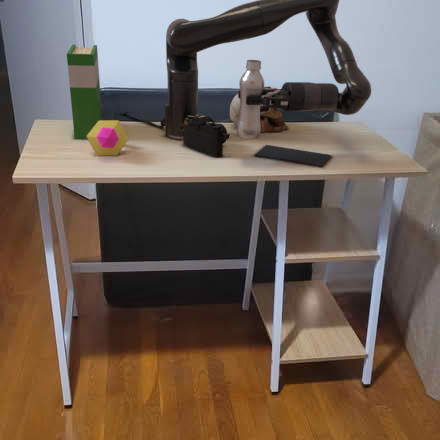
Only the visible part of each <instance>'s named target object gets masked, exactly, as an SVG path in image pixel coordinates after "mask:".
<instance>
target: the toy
mask: <svg viewBox="0 0 440 440" xmlns="http://www.w3.org/2000/svg"><path fill="white" fill-rule="evenodd" d="M87 138H88V139H87V140H88V142H89V144H90V147H91V148H92V150H93V152H94V153H95V156H96V157H97V156H98V157H99V156H100V157H101V156H103V157H104V156H118V154H119V153H120V152H121V150H122V149H123V148H124V147H125V146H126V145H127V143H128V141H129V140H130V139H129V138H128V136H127V134H126V132H125V129H124V128H123V125H122V123H121V122H120V120H119V119H115V120H114V119H110V120H103V119H102V120H99V121H98V122H97V123H96V125H95V126H94V127H93V128H92V130H91V131H90V132H89V133H88V135H87Z"/></svg>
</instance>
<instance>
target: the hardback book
mask: <svg viewBox="0 0 440 440" xmlns="http://www.w3.org/2000/svg"><path fill="white" fill-rule="evenodd" d="M98 52H99V51H98V45H97V44H93V46H92V47H84V46H83V47H82V46H81V47H78V46H76V44H71V46H70V47H69V49H68V51H67V52H66V64H67V73H68V82H69V93H70V105H71V113H72V124H73V135H74V140H88V138H87V135H88V133H89V132H90V131H91V130H92V128H93V127H94V126H95V125H96V123H97V122H98V121H99V120H103V113H102V99H101V98H102V97H101V81H100V69H99V68H100V67H99V54H98Z"/></svg>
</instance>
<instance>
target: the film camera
mask: <svg viewBox="0 0 440 440" xmlns="http://www.w3.org/2000/svg"><path fill="white" fill-rule="evenodd" d="M180 129H181V130H182V131H184V136H183V140H182V144H183V145H184V146H186V147H187V148H189V149H193V150H195V151H197V152H200V153H202V154H205V155H208V156H211V157H213V158H220V157H222V156H223V148H224V147H223V146H224V144H225V143H226V142H227V141H228V139H230V137H231V133H228V130H227V128H226V127H225V125H224V124H222V123H217V122H215V120H214V119H212V117H211V116H210V115H208V114H205V113H203V114H197V115H196V116H195V118H194V116H187V118H185V120H184V124H182V125H181V126H180Z"/></svg>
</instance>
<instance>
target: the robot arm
mask: <svg viewBox="0 0 440 440" xmlns="http://www.w3.org/2000/svg"><path fill="white" fill-rule="evenodd" d="M339 3H340V0H255V1H251V2H250V1H249V2H246V3H243V4H239V5H237V6H234V7H232V8H230V9H228V10H226V11H224V12H222V13H220V14H218V15H216V16H213V17H209V18H202V19H198V20H189V19H186V18H176V19H174V20H173V21H171V22H170V24H169V25H168V27H167V28H166V32H165V53H166V54H165V56H166V59H165V60H166V73H167V76H166V77H167V103H166V104H165V105H164V117H163V119H162V120H160V125H158V124H156V123H154V122H152V121H151V120H148V119H145V118H142V117H139V116H137V115H133V114H132V113H131V112H129V113H127V114H126V113H123V112H122V114H121V116H126V115H127V116H128V117H130V118H132V119H134V120H136V121H139V122H142V123H145V124H148V125H150V126H152V127H155V128H157V129H161V130H162V129H165V130H164V134H165V137H169V138H171V139H174V140H175V139H176V140H181V141H183V136H184V131H182V130H181V129H180V126H181V125H182V124H184V120H185V118H187V116H194V118H195V116H196V115H198V113H199V112H198V110H199V108H198V104H199V66H198V53H199V52H202V51H204V50H207V49H210V48H212V47H215V46H219V45H222V44H229V43H235V42H239V41H240V42H241V41H244V40H249V39H253V38H256V37H262V36H264V35H267V34H269V33H272V32H273V31H274V30H276V29H278V28H279V27H280V26H281V25H283V24H284V23H285V22H287V21H288V20H289V19H291V18H293V17H294V16H297V15H299V14H302V13H305V16H306V19H307V21H308V23H309V24H310V26H311V28H312V29H313V31H314V33H315V35H316V36H317V39H318V40H319V42H320V45H321V47H322V49H323V51H324V53H325V55H326V59H327V61H328V65H329V67H330V69H331V73H332V76H333V79H334V80H335V82H336V83H338V84H339V85H346V86H345V88H344V89H343V91H342V92H340V91H339V90H340V89H339V87H338V86H337V85H336V84H334V83H331V82H329V83H327V82H324V83H323V82H308V81H286V82H284V83H283V84H282V86H281V88H280V89H278V88H277V87H271V86H264V89H263V93H262V96H247V97H246V104H247V105H260V106H265V107H266V108H277V109H282V111H284V112H292V113H293V112H312V111H329V112H333V113H336V114H341V115H344V116H352V115H355V114H357V113H359V112H360V110H361V109H362V108H363V107H364V105H365V104H366V103H367V102H368V100H369V99H370V98H371V96H372V84H371V82H370V80H369V78H367V77H366V75H365V73H364V72H363V71H362V70H361V69H360V67H358V63H357V61H356V57H355V55H354V51H353V50H352V48H351V46H350V44H349V42H347V41H346V40H345V39H344V38H343V37H342V35H341V34H340V32H339V30H338V26H337V20H336V14H337V12H338V7H339ZM237 94H238V98H239V99H240V89H239V90H238V92H237Z"/></svg>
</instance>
